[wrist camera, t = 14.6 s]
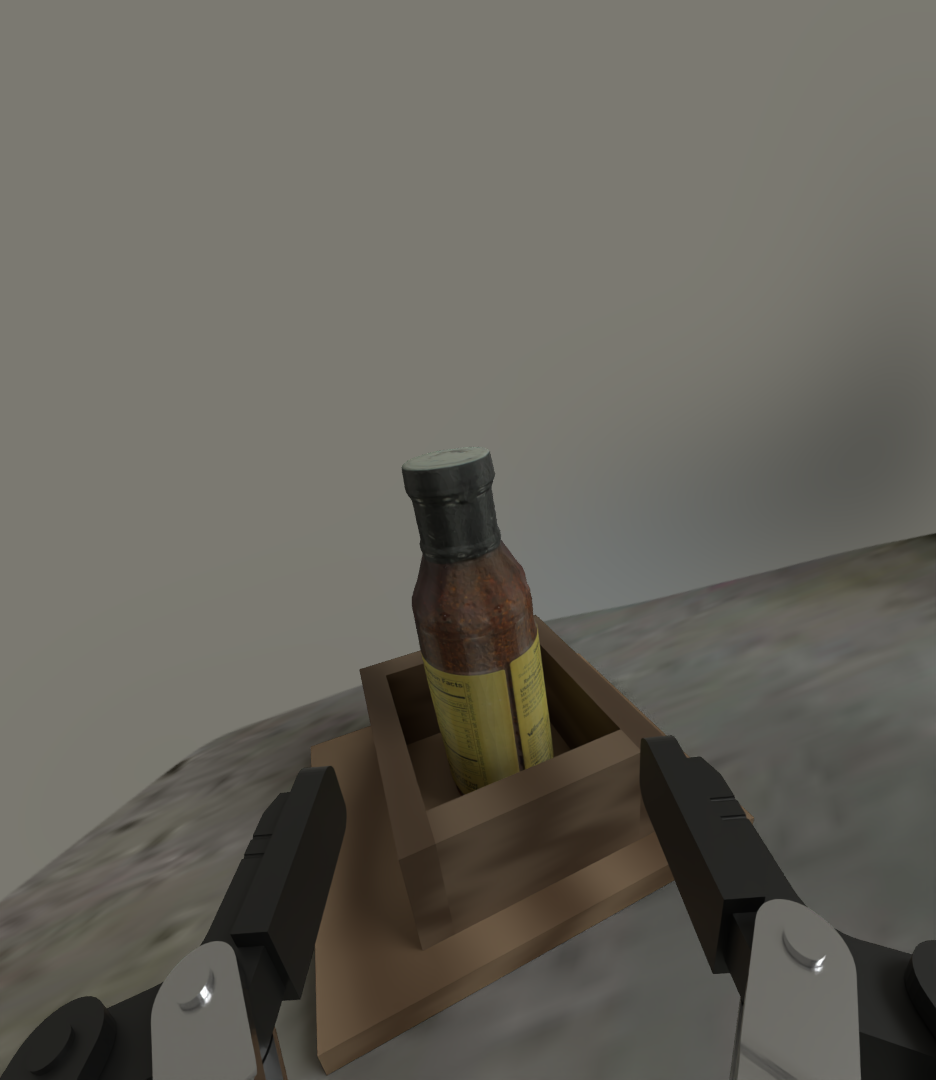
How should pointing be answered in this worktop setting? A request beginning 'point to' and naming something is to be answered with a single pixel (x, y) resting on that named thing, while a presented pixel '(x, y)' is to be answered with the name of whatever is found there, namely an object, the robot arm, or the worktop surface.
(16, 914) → the worktop surface
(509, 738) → the sauce bottle
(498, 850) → the walnut caddy
